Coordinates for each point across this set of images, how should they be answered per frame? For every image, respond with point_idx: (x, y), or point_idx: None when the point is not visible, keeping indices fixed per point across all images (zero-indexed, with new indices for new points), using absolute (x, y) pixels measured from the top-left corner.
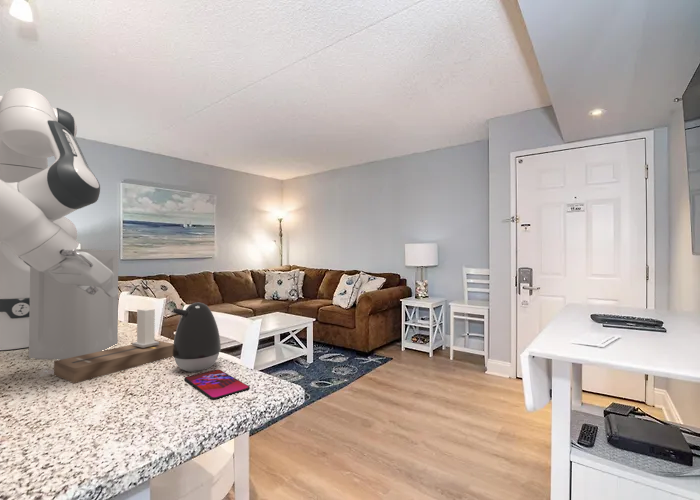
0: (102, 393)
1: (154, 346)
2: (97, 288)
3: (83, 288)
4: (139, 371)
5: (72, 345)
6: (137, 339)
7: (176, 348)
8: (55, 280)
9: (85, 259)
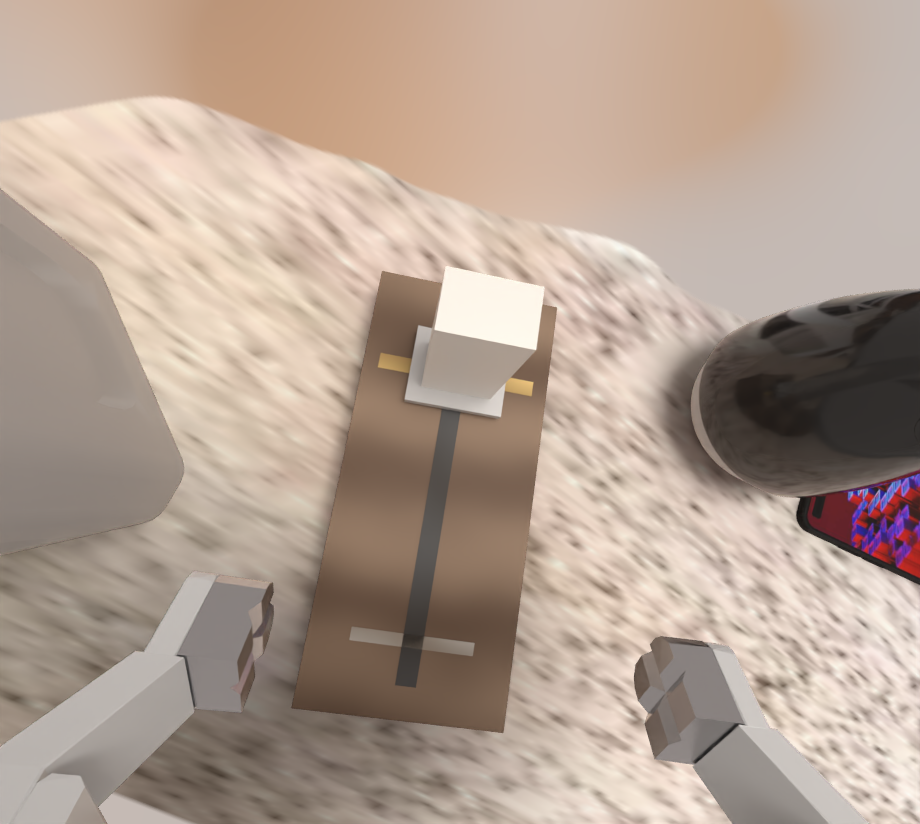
0: None
1: None
2: (262, 594)
3: (164, 739)
4: (584, 518)
5: (108, 524)
6: (426, 384)
7: (808, 493)
8: None
9: None
